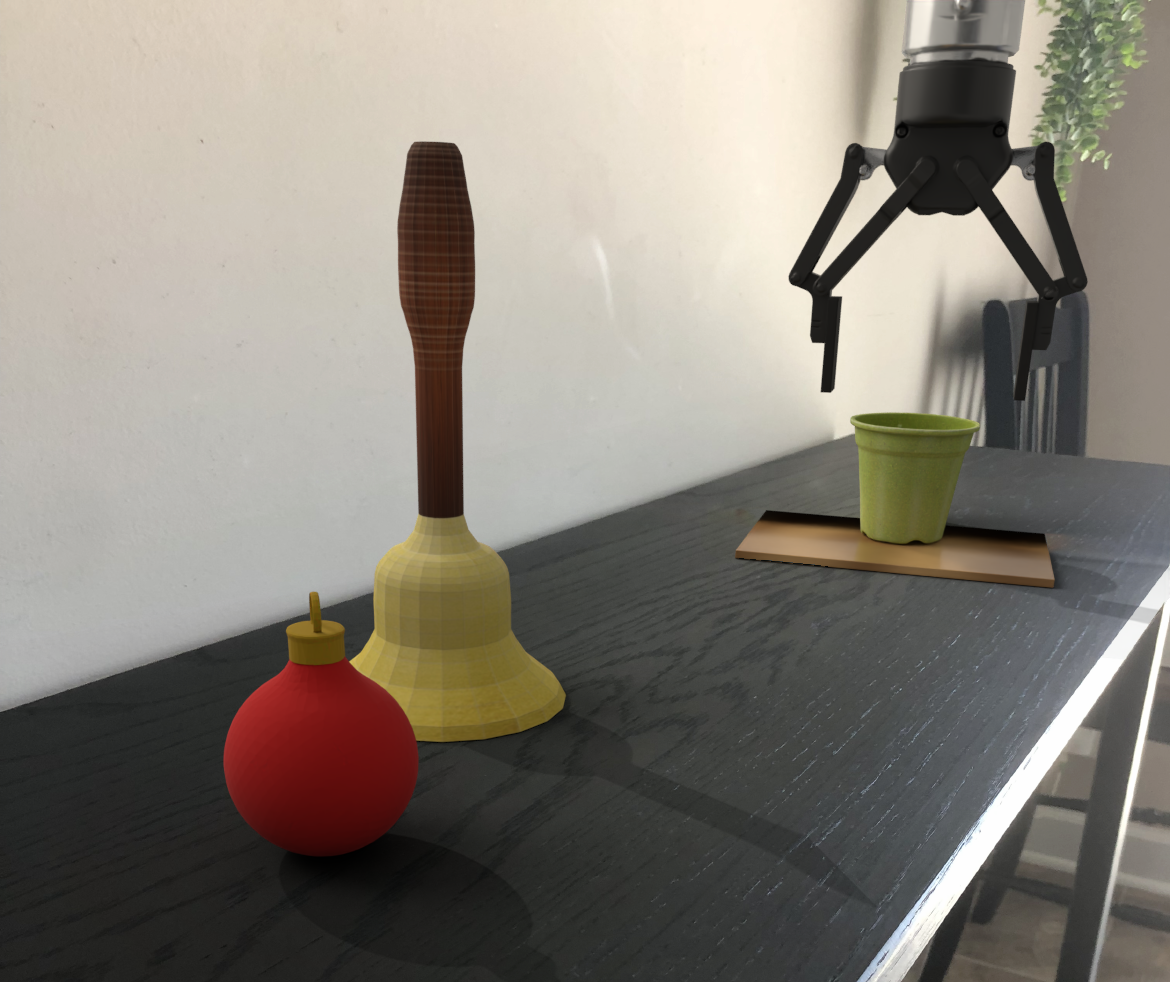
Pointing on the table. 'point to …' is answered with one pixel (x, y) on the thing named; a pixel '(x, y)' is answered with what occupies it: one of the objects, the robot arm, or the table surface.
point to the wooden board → (901, 550)
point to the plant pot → (909, 472)
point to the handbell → (446, 502)
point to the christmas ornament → (320, 749)
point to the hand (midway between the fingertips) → (921, 395)
